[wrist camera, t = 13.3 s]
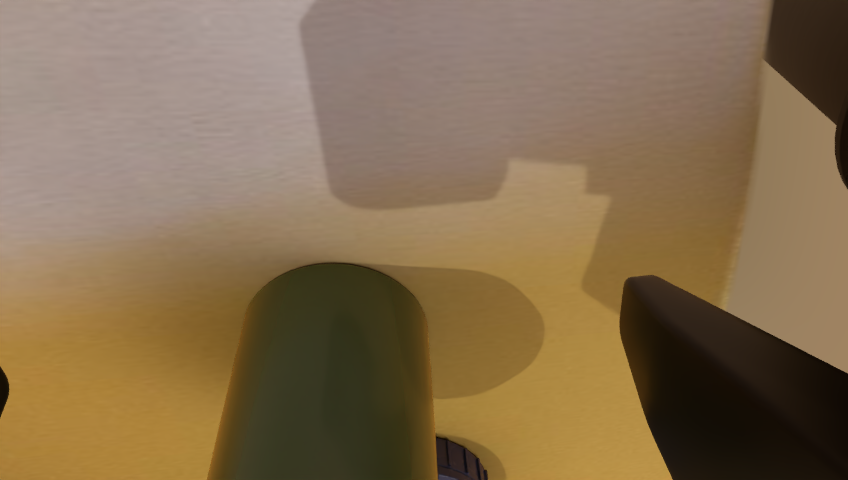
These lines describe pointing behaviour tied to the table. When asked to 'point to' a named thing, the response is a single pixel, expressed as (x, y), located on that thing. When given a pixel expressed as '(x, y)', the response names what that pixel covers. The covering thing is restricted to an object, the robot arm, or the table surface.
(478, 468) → the lid
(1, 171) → the table surface
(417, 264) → the table surface
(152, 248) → the table surface
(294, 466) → the jar
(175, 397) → the table surface
